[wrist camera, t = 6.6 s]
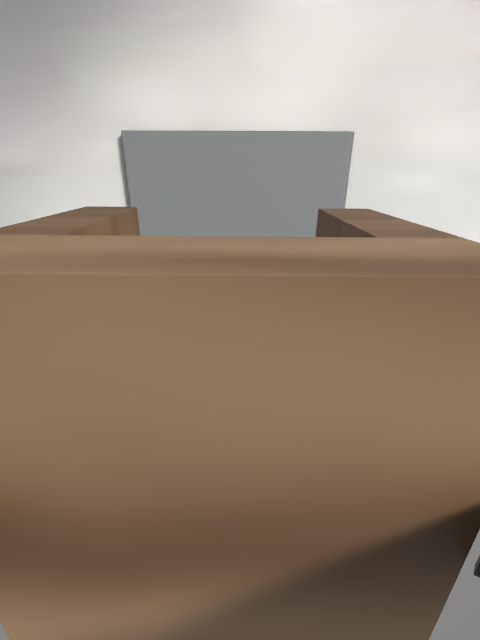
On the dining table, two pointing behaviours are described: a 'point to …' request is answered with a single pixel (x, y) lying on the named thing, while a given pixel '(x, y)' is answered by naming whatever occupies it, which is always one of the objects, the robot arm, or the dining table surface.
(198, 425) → the wooden stool
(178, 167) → the mat
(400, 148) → the dining table surface
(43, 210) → the dining table surface
